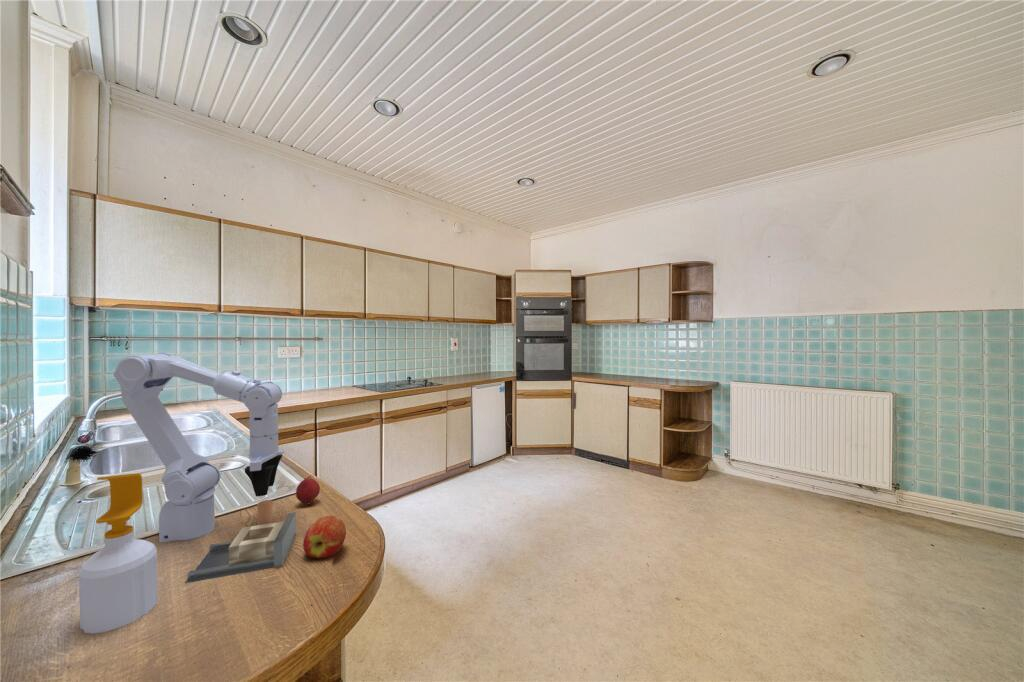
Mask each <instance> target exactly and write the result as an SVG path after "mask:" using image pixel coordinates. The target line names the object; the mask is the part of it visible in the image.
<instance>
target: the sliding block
mask: <svg viewBox="0 0 1024 682" xmlns="http://www.w3.org/2000/svg"><path fill="white" fill-rule="evenodd" d="M283 523H284V521H279V522H273V523H271V524H264V525H258V524H257V525H251V526H244V527H241V529H240V530H239V532H238V534H237V535H236V536H235V537H234V539H233V542H232V543H231V545H230V546H229V565H230V564H236V563H242V562H248V561H254V560H260V559H266V558H272V557H274V545H273V543H274V541H275V539H276V537H277V535H278V533H279V531H280V529H281V527H282V525H283Z"/></svg>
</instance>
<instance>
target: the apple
mask: <svg viewBox="0 0 1024 682" xmlns="http://www.w3.org/2000/svg"><path fill="white" fill-rule="evenodd" d="M344 522H345V521H343V519H341V518H340V517H338V516H336V515H326V516H323V517H320V518H319V519H317V520H315V521H314V522H313V523H311V525H310V527H309V528H308V529H307V531H306V533H305V535H304V538H303V541H302V542H303V544H302V545H303V550H304V552H305V555H307V556H308V557H310V558H311V559H315V560H316V559H318V560H321V559H322V560H323V559H327V558H330V557H332V556H334V555H335V554H337V552H339V551H340V550H341V547H342V546H343V545H344V542H345V540H346V535H347V529H346V528H347V527H346V525H345V523H344Z"/></svg>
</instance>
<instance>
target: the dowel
mask: <svg viewBox="0 0 1024 682" xmlns="http://www.w3.org/2000/svg"><path fill="white" fill-rule="evenodd" d="M273 510H274V509H273V501H272V500H271V499H264V500H262V501H259V502H258V503H257V525H264V524H271V523H274V518H273V516H274V515H273Z"/></svg>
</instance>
